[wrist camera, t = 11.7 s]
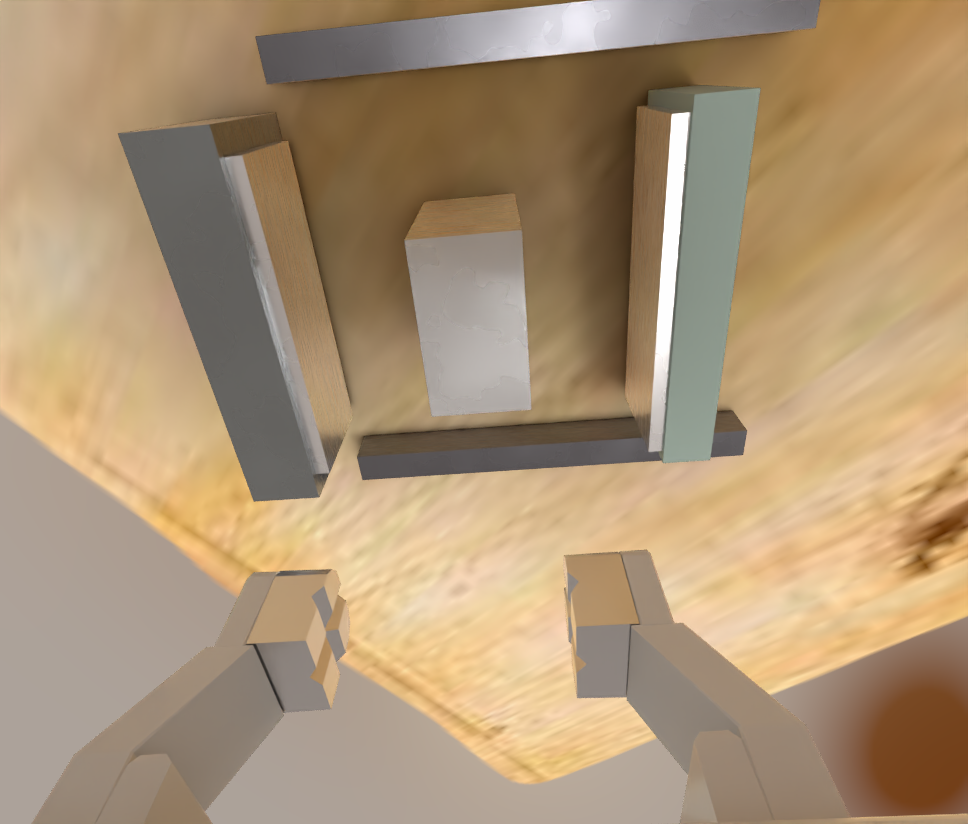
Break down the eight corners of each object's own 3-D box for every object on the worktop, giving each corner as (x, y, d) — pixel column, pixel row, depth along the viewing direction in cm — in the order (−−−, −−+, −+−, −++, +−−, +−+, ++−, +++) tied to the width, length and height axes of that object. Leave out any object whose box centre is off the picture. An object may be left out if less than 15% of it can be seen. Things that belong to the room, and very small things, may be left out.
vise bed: (797, -17, 21) (906, -50, 16) (728, 434, 31) (780, 512, 26) (184, 48, 23) (83, 40, 17) (307, 462, 33) (269, 542, 27)
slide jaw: (699, 84, 23) (760, 87, 18) (671, 393, 30) (710, 460, 25) (633, 91, 23) (675, 96, 18) (621, 397, 30) (649, 464, 25)
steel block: (514, 193, 25) (522, 229, 19) (523, 339, 29) (531, 409, 23) (424, 201, 26) (404, 240, 20) (443, 345, 29) (431, 416, 23)
